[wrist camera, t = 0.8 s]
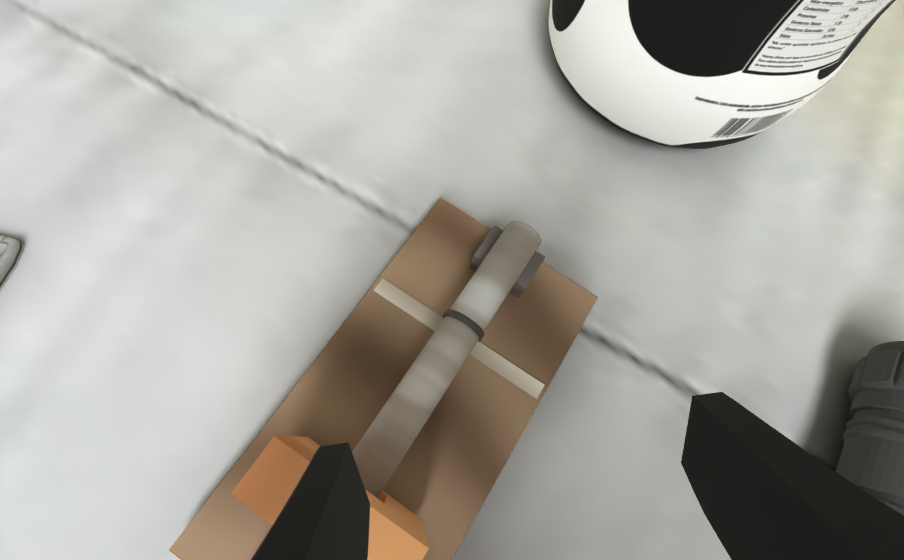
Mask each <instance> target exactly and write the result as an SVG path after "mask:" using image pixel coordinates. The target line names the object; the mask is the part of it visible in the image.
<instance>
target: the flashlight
mask: <svg viewBox="0 0 904 560" xmlns="http://www.w3.org/2000/svg"><path fill="white" fill-rule="evenodd" d="M847 393H848V395H849V400H850V402H851V403H852V405H851V408H850V411H849V416H848V417H849V420H850V421H849V422H847V424H846V431H845V432H844V434H843V443H844V446H843V449H842V452H841V456H840V459H839V462H838V465H837V468H836V471H835V472H837V473H838V474H840V475H841V476H843V477H844V478H846V479H847V480H849V481H850V482H852V483H853V484H855V485H856V486H858V487H859V488H861V489H862V490H864V491H866V492H867V493H869V494H870V495H872V496H873V497H875V498H876V499H878V500H879V501H881V502H883V503H884V504H886V505H887V506H889V507H890V508H892V509H894V510H895V511H897V512H898V513H900V514H902V515H903V516H904V341H897V342H888V343H883V344H880V345H877V346H875V347H873V348H872V349H871V350H870V352H869V353H868V356H866V357H864V358H862V359H861V360H860V361H859V362H858V363H857V366H856V369H855V372H854V375H853V378H852V381H851V384H850V387H849V389H848V392H847Z"/></svg>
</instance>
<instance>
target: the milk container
mask: <svg viewBox="0 0 904 560" xmlns="http://www.w3.org/2000/svg"><path fill="white" fill-rule="evenodd" d="M894 1H895V0H550V9H549V33H550V39H551V43H552V47H553V50H554V54H555V58H556V61H557V64H558V66H559V69H560V71H561V72H562V74H563V76H564V77H565V79H566V80H567V81H568V83H569V84H570V86H571V87H572V88H573V90H574V91H575V92H576V94H577V95H578V96H579V97H580V98H581V99H582V101H583V102H584V103H585V104H587V105H588V106H589V107H590V108H591V109H592V110H594V111H595V112H596V113H598V114H599V115H600V116H602V117H603V118H604V119H606V120H607V121H609V122H610V123H611V124H613V125H615V126H616V127H618V128H619V129H621V130H624V131H626V132H628V133H630V134H632V135H635V136H638V137H640V138H643V139H645V140H648V141H651V142H654V143H657V144H660V145H665V146H671V147H682V148H694V149H706V148H712V147H717V146H722V145H727V144H732V143H736V142H739V141H742V140H745V139H747V138H750V137H752V136H754V135H756V134H758V133H760V132H762V131H764V130H765V129H767V128H769V127H771V126H772V125H774V124H776V123H778V122H779V121H781V120H783V119H784V118H786V117H787V116H789V115H790V114H791V113H793V112H794V111H796V110H797V109H799V108H800V107H801V106H803V105H804V104H805V103H806V102H808V101H809V100H810V99H811V98H812V97H814V96H815V95H816V94H817V93H818V92H819V91H820V90H821V89H822V88H823V87H824V86H825V85H826V84H827V83H828V82H829V81H830V80H831V79H832V78H833V77H834V75H835V74H836V73H837V72H838V71H839V69H840V68H841V67H842V66H843V64H844V63H845V62H846V61H847V59H848V58H849V57H850V55H851V54H852V52H853V51H854V50H855V48H856V47H857V45H858V44H859V43H860V41H861V40H862V39H863V37H864V36H865V34H866V33H867V32H868V30H869V29H870V28H871V26H872V25H873V24H874V23H875V21H876V20H877V19H878V18H879V17H880V15H881V14H882V13H883V12H884V11H885V10H886V9H887V8H888V7H889V6H890V5H891V4H892V3H893V2H894Z"/></svg>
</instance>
